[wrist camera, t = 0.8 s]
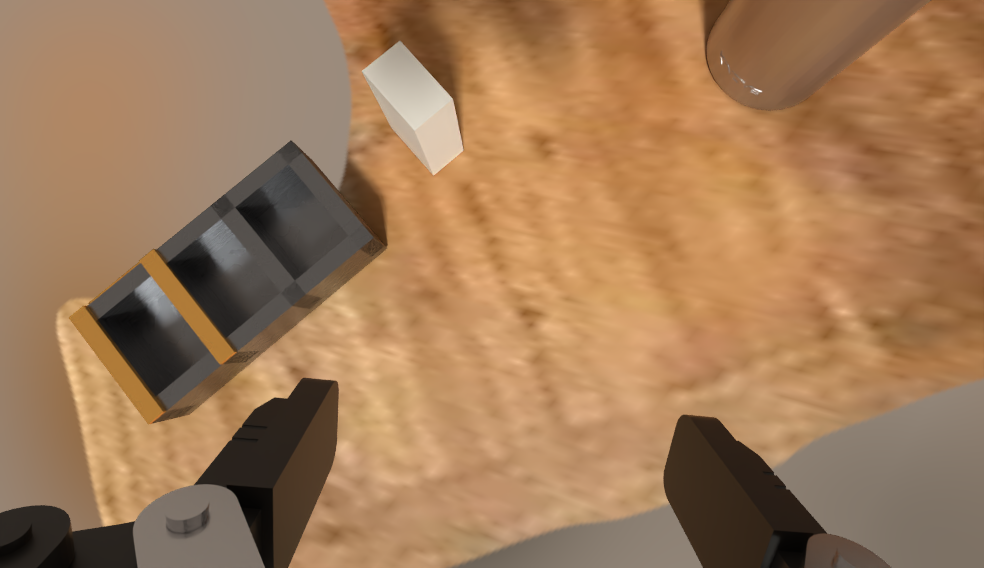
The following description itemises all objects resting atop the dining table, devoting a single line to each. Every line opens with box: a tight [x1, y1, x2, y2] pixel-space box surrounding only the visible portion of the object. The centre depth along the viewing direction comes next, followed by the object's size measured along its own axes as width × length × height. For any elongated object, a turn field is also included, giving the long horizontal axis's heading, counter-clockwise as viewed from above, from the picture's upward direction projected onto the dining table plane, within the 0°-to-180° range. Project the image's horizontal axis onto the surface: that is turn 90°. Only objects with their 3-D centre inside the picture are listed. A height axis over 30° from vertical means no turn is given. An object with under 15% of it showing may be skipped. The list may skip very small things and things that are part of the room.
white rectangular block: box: [362, 41, 464, 176], centre depth 33 cm, size 3×5×8 cm, turn 41°
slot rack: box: [69, 141, 387, 424], centre depth 34 cm, size 19×9×4 cm, turn 131°
